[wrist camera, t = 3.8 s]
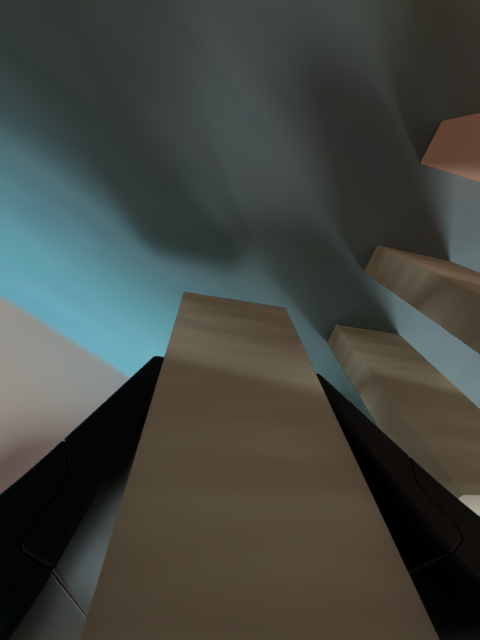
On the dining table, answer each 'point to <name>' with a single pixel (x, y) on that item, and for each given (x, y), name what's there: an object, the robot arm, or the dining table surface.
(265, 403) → the domino
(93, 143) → the dining table surface
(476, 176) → the domino
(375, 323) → the dining table surface
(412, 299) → the domino
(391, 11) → the dining table surface
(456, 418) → the domino
